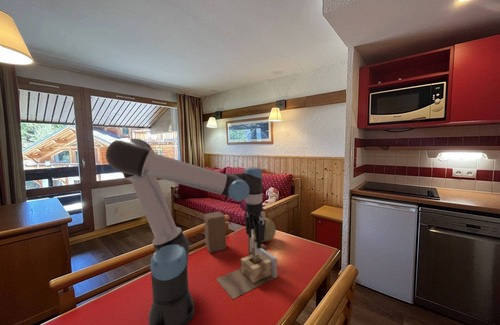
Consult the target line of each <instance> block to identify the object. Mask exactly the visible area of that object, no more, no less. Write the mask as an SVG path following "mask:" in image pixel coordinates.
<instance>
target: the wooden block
mask: <svg viewBox="0 0 500 325" xmlns="http://www.w3.org/2000/svg"><path fill="white" fill-rule="evenodd" d="M247 241H248V256H249V255H252V252H250V237H249V235H248V234H247ZM261 248H262V249H264V250H265V251H267V252H268V249H267V248H268V247H267V246H266V245H265V244H264V243H261Z"/></svg>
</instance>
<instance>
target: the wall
mask: <svg viewBox="0 0 500 325" xmlns="http://www.w3.org/2000/svg"><path fill="white" fill-rule="evenodd" d="M261 254H262V255H263V256H264V257H266V258H267V259H269V260H270V261H271V273H272V275H271V276H273V277H274V279H277V278H278V277H277V275H278V257H276V256H275V255H273V254H271V253H270V252H268V250H267V251H265V250H264V249H262V248H261Z"/></svg>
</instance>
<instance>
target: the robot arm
mask: <svg viewBox="0 0 500 325" xmlns="http://www.w3.org/2000/svg"><path fill="white" fill-rule="evenodd" d="M105 159H106V162H107V163H108V165H109V166H110V167H111V168H112V169H113V170H115V171H117V172H119V173H122V175H123V177H124V179H125V180H127V181H130V182H131V184H132V187H133V189H134V191H135V194H136V195H137V198H138V200H139V201H138V202H140V203H139V204H140V205H141V207H142V210H143V213H144V214H145V217H146V219H147V220H146V221H147V222H148V224H149V226H150V229H151V231H152V235H153V236H154V238H153V240H152V245H153V248H154V250H155V252H154V253H153V254H152V256H151V259H150V265H149V268H150V275H151V277H150V278H151V291H152V303H151V306H150V310H149V314H148V325H188V324H189V323H190V322H191V321H192V319H193V317H194V316H195V302H194V299H193V297H192V295H191V293H190V290H189V274H188V272H189V270H188V267H189V266H188V264H189V252H190V242H189V239H188V237H187V236H186V235H185V234H184V233H183V230H182V228H181V227H179V226H176V223H175V221H174V218H173V215H172V213H171V211H170V208H169V205H168V203H167V200H166V198H165V196H164V193H163V190H162V188H161V186H160V183H159V180H158V179H161V180H164V181H168V182H171V183H176V184H179V185H182V186H187V187H190V188H194V189H199V190H202V191H205V192H209V193H214V194H217V195H220V196H224V197H228V198H230V199H231V200H233V201H234V202H243V201H245V211H246V212H245V213H244V219H245V230H246V234H247V236H248V235H249V237H250V252H252V233H251V229H253V228H255V237H256V240H255V255H259V254H261V244H262V242H261V241H264V235H265V223H266V220H263V219H262V216H263V215H262V212H263V211H264V210H263V209H264V206H263V172H262V169H261V167H254V166H253V167H246V168H245V169H244V172H238V173H222V172H218V171H214V170H211V169H208V168H205V167H202V166H198V165H194V164H192V163H188V162H186V161H185V162H184V161H182V160H179V159H175V158H171V157H168V156H166V155H165V156H164V155H161V154H158V153H156V152H155V150H154V149H153V148H152V147H151V145H150V144H149V143H147V142H146V141H145V140H142V139H140V138H129V137H125V138H118V139H115V140H114V141H112V142H111V143H110V144H109V145H108V146H107V148H106V151H105ZM157 178H158V179H157Z"/></svg>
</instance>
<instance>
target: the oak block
mask: <svg viewBox="0 0 500 325" xmlns="http://www.w3.org/2000/svg"><path fill="white" fill-rule="evenodd" d="M240 268H241V272H242V273H243V274H244V275H245V276H246V277H247V278H248V279H249V280H250V281H251V282H252V283H256V282H258V281H260V280H262V279H264V278H266V277H268V276H270V275H272V273H271V261H270V260H269V259H267V258H266V257H264V256H263V255H262V254H259V263H258V264H255V265H254V264H253V263H252V255H249V254H248V255H246V256H244V257H242V258H240Z"/></svg>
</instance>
